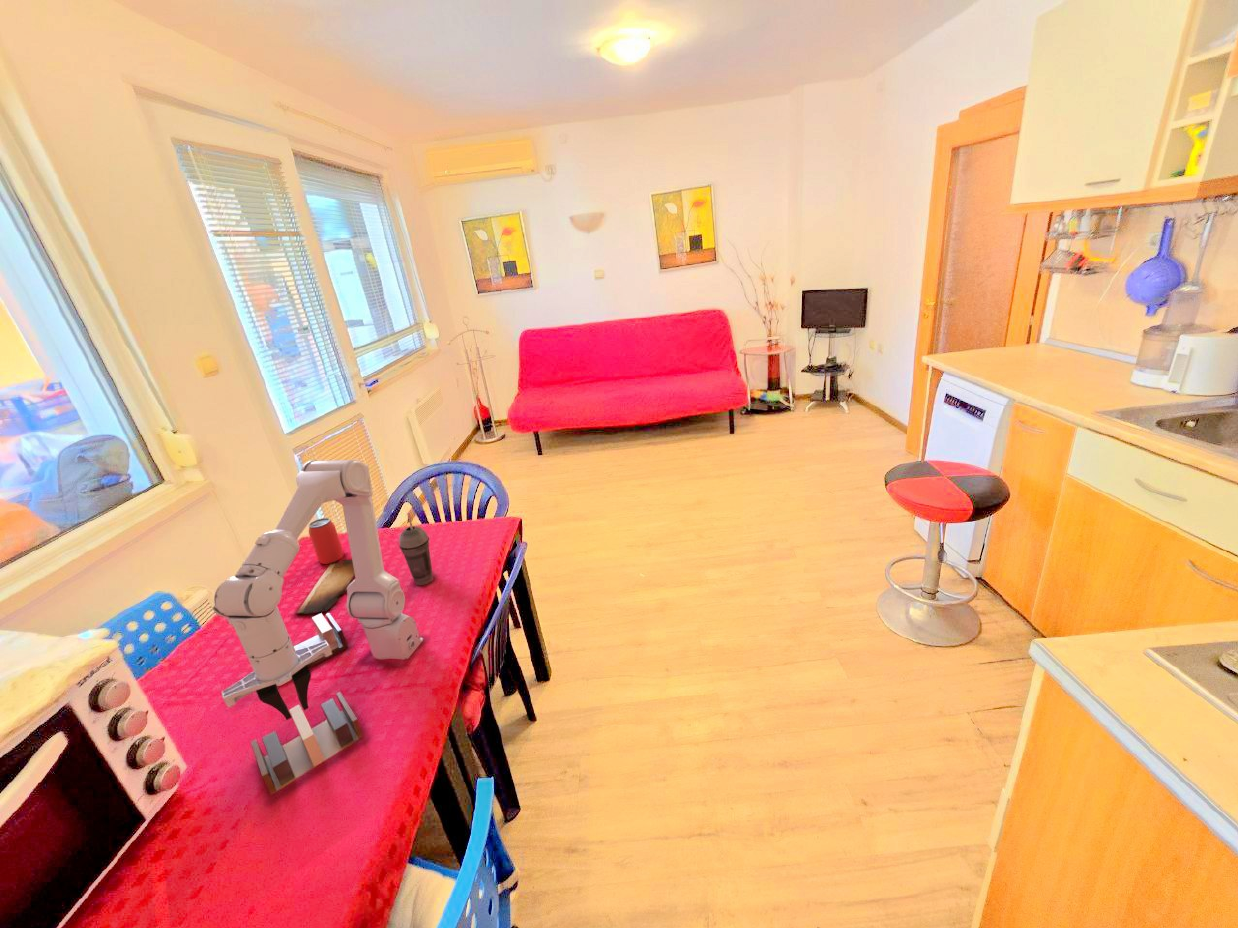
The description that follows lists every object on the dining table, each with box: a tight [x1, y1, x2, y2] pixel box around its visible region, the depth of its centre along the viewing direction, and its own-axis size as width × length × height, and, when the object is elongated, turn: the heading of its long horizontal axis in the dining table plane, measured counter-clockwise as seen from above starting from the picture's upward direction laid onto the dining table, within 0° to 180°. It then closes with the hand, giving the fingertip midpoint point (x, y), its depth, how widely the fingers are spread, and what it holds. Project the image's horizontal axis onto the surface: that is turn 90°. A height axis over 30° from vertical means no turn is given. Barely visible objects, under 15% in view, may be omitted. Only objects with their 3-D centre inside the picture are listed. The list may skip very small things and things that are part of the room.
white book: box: [288, 703, 326, 768], centre depth 84 cm, size 2×9×6 cm, turn 45°
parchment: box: [295, 558, 355, 615], centre depth 133 cm, size 25×10×1 cm, turn 8°
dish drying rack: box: [293, 612, 349, 669], centre depth 107 cm, size 14×9×6 cm, turn 134°
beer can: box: [308, 517, 344, 565], centre depth 145 cm, size 7×7×12 cm
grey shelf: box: [250, 691, 364, 796], centre depth 85 cm, size 14×9×5 cm, turn 135°
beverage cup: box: [398, 512, 434, 586], centre depth 129 cm, size 7×7×20 cm
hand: (296, 710), depth 82 cm, fingers closed
